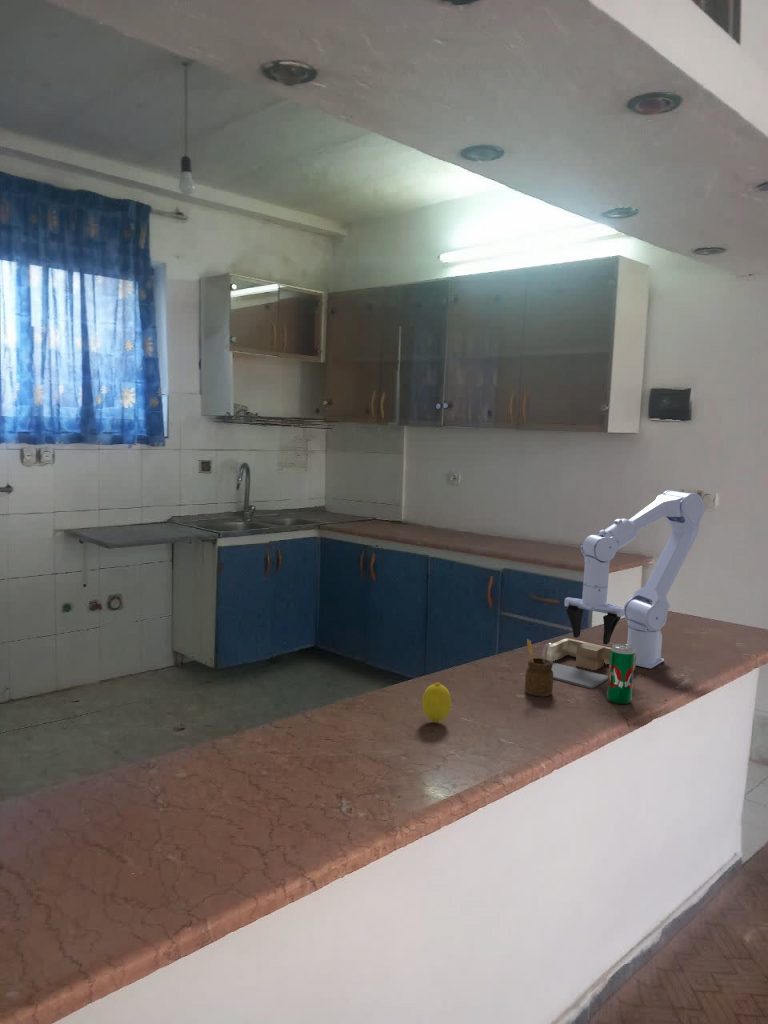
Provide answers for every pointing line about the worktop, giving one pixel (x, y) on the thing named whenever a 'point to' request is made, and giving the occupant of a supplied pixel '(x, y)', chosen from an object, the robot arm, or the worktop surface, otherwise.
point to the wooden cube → (590, 656)
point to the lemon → (436, 702)
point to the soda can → (620, 673)
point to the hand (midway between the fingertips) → (591, 640)
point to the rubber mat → (577, 676)
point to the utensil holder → (539, 675)
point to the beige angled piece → (572, 650)
